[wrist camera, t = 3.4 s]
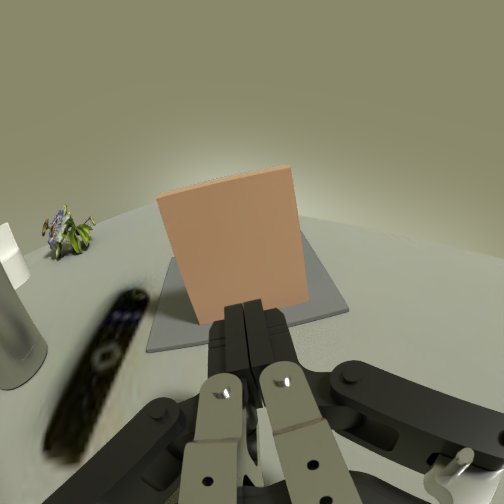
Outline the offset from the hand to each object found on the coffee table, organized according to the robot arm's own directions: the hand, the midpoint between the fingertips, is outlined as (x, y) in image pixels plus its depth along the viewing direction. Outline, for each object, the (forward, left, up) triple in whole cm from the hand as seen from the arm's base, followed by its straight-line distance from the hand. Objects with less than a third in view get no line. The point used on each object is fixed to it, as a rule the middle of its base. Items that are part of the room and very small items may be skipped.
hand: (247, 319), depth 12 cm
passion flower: (-36, +44, -10) cm, 58 cm away
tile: (0, +12, -9) cm, 15 cm away
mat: (-1, +18, -9) cm, 20 cm away
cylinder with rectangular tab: (-49, +34, -9) cm, 61 cm away
